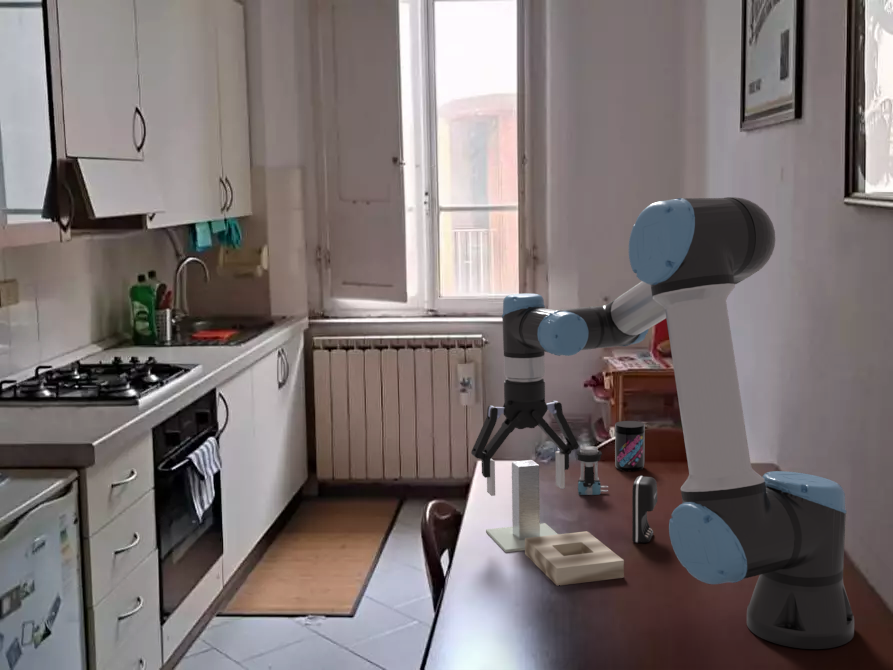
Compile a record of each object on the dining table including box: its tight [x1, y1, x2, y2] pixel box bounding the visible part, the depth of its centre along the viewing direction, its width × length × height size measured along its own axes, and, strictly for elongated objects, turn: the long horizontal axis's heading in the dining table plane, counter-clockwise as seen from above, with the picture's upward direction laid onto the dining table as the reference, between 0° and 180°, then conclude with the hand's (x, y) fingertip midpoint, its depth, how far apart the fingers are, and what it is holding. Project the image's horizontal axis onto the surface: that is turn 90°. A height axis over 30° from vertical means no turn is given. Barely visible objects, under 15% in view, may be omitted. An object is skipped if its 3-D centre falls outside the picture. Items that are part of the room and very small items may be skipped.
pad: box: [485, 522, 559, 553], centre depth 202 cm, size 12×12×1 cm
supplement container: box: [614, 420, 646, 472], centre depth 248 cm, size 7×7×10 cm
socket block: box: [524, 531, 625, 586], centre depth 187 cm, size 16×12×3 cm
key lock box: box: [631, 475, 658, 544], centre depth 200 cm, size 7×4×11 cm, turn 161°
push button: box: [576, 445, 609, 496], centre depth 229 cm, size 7×5×10 cm
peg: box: [511, 459, 541, 540], centre depth 201 cm, size 4×4×14 cm
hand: (526, 490), depth 200 cm, fingers open, 13 cm apart
